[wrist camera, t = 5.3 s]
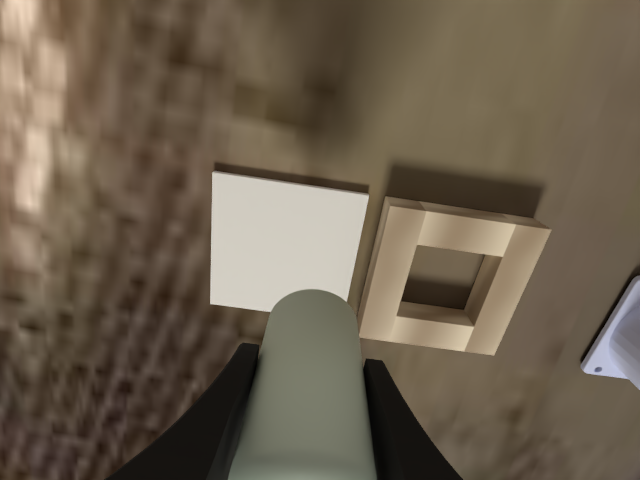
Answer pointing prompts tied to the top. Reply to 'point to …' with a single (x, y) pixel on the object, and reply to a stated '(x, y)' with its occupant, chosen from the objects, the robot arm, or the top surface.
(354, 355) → the sage peg
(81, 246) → the top surface
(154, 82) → the top surface
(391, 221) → the pocket holder
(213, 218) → the pad
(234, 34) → the top surface
